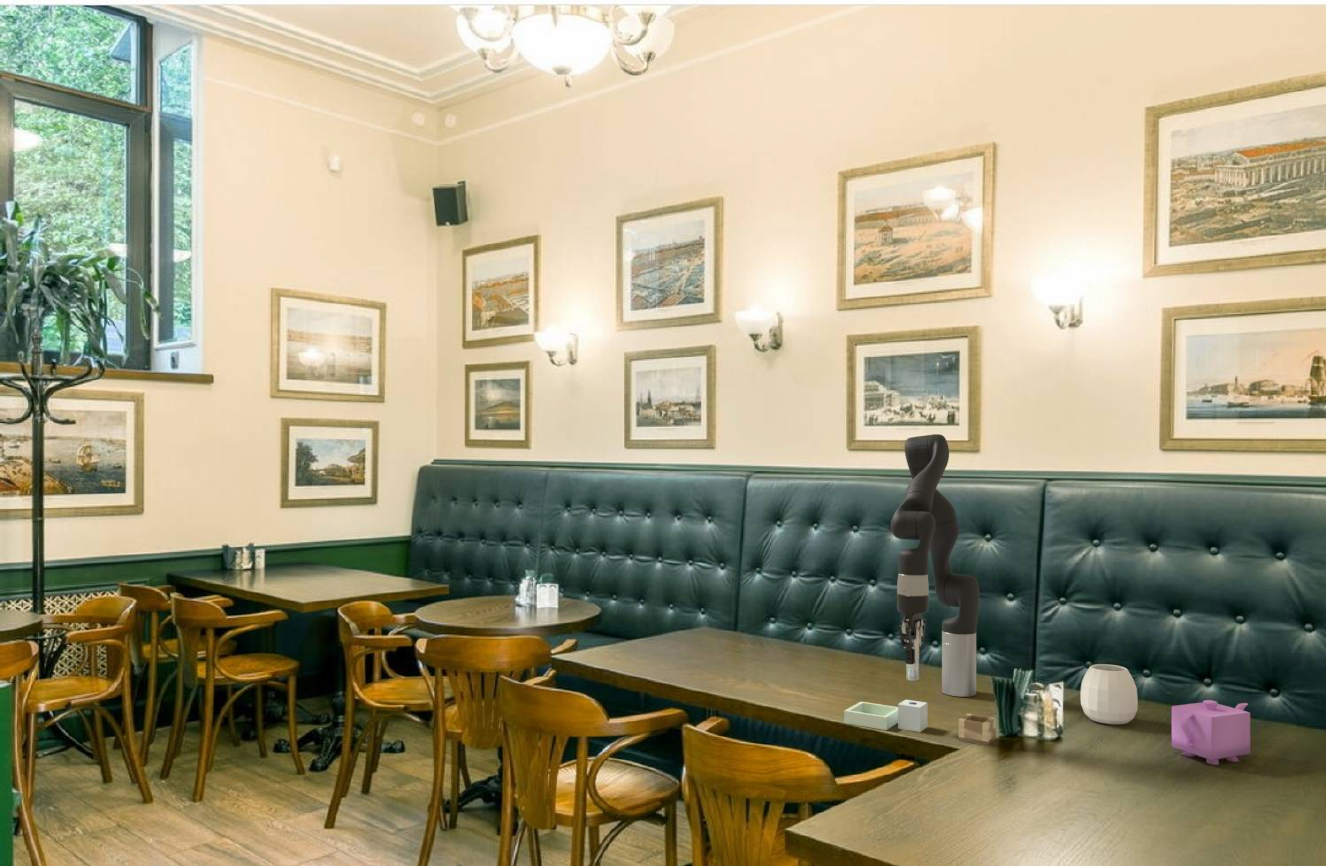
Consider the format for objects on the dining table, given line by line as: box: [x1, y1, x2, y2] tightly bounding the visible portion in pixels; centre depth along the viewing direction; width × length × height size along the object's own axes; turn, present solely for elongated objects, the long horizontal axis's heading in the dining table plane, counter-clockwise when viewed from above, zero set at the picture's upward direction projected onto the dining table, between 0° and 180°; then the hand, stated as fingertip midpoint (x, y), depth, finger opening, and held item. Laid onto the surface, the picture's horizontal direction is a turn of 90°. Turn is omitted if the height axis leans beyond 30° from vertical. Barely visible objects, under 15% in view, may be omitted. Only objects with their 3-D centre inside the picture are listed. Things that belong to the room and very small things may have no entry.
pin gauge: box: [905, 630, 920, 682], centre depth 245 cm, size 3×3×12 cm
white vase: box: [1080, 663, 1139, 725], centre depth 251 cm, size 13×13×14 cm
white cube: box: [897, 699, 929, 733], centre depth 244 cm, size 6×6×6 cm
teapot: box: [1171, 699, 1251, 766], centre depth 223 cm, size 20×10×12 cm, turn 112°
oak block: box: [958, 713, 997, 746], centre depth 235 cm, size 7×7×5 cm
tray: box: [843, 701, 898, 731], centre depth 249 cm, size 11×11×3 cm
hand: (912, 662), depth 245 cm, fingers closed on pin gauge, 3 cm apart
